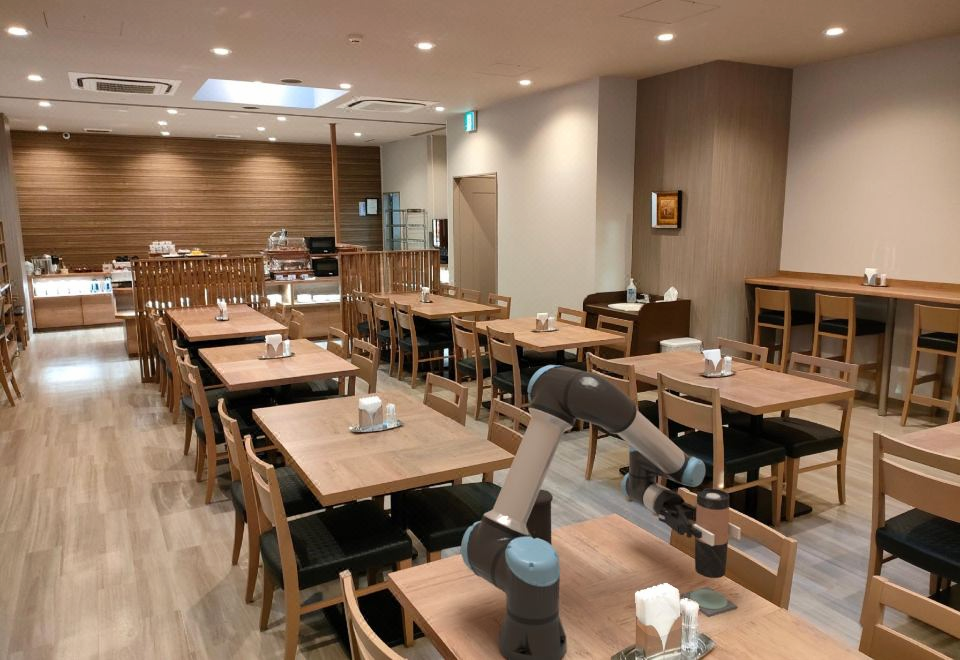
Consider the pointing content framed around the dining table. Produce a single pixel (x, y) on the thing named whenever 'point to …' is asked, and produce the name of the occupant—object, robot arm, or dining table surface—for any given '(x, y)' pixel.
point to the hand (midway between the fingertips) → (726, 537)
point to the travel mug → (715, 520)
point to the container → (541, 517)
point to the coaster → (710, 601)
